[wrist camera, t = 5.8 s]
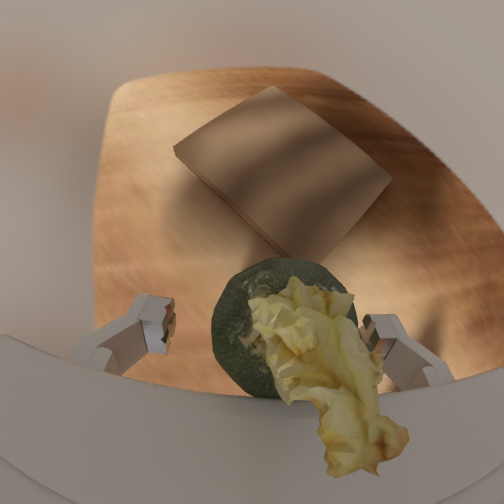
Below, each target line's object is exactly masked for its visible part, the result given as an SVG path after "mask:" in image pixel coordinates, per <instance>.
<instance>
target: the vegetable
mask: <svg viewBox="0 0 504 504" xmlns="http://www.w3.org/2000/svg"><path fill="white" fill-rule="evenodd" d="M354 296H355V295H353V294H350V293H348V292H347V290H346V288H345V287H344V286H343V285H342V284H341V283H340V282H339V281H338V280H337V279H336V278H335V277H334V276H333V275H332V274H331V273H330V272H329V271H328V270H327V269H326V268H325V267H323V266H321V265H320V264H318V263H314V262H311V261H306V260H300V259H293V258H269V259H266V260H264V261H262V262H260V263H258V264H255V265H253V266H251V267H249V268H247V269H245V270H244V271H242V272H240V273H238V274H236V275H234V276H233V277H232V278H231V279H230V280H229V282H228V283H227V285H226V287H225V289H224V291H223V293H222V295H221V297H220V298H219V300H218V302H217V304H216V306H215V308H214V312H213V316H212V323H211V334H212V346H213V353H214V355H215V358H216V360H217V361H218V363H219V364H220V365H221V367H222V368H223V369H224V370H225V371H226V373H227V374H228V375H229V376H230V377H231V378H232V379H233V380H234V381H235V382H236V383H237V384H238V385H239V386H240V387H241V388H242V389H243V390H244V391H245V392H247V393H248V394H250V395H252V396H254V397H263V398H280V399H282V400H283V401H285V402H286V403H287V404H288V406H289V405H290V404H291V403H292V402H293V401H294V400H304V401H312V402H313V404H314V405H315V406H316V408H317V409H318V410H319V412H320V414H319V422H320V426H319V428H318V430H317V433H318V435H319V436H320V438H321V439H322V441H323V443H324V444H325V447H326V451H325V454H324V460H325V461H326V462H327V463H328V468H327V471H326V472H327V473H328V474H329V475H330V476H333V477H334V478H338V477H342V476H345V475H348V474H351V473H353V472H355V471H358V470H360V469H363V470H365V471H367V472H369V473H371V474H372V475H376V476H379V475H378V473H377V471H376V469H377V466H378V463H380V462H385V461H389V460H391V459H393V458H395V457H397V456H399V455H400V454H401V453H402V451H403V450H404V448H405V446H406V445H407V443H408V442H409V440H410V439H409V435H408V430H407V428H406V427H403V426H400V425H398V424H396V423H395V422H394V421H393V420H391V419H390V418H389V417H388V416H384V415H380V414H379V400H378V391H377V385H378V384H379V383H380V382H381V381H382V378H383V373H384V371H381V369H382V366H383V362H384V361H383V360H382V358H381V357H382V356H384V355H385V354H384V353H381V354H377V353H376V352H375V351H374V350H373V351H372V352H369V351H368V349H367V348H366V346H365V345H364V343H363V342H362V340H361V339H360V338H359V334H360V333H358V332H359V330H358V320H357V315H356V311H355V307H354V303H353V300H354Z"/></svg>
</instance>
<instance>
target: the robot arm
mask: <svg viewBox="0 0 504 504" xmlns="http://www.w3.org/2000/svg"><path fill="white" fill-rule="evenodd" d="M174 307H175V302H174V299H173V298H169V297H163V296H157V295H150V294H145V293H139V294H138V295H137V296H136V298H135V300H134V301H133V303H132V305H131V307H130V309H129V310H128V312H127V314H126V316H125V317H120V318H118V319H116V320H114V321H113V322H111V323H109V324H107V325H105V326H103V327H102V328H100V329H98V330H96V331H94V332H93V333H91V334H89V335H87V336H85V337H84V338H82V339H80V340H79V341H78V343H77V344H76V346H75V348H74V350H73V351H72V353H71V354H70V356H69V358H68V360H67V359H64V358H61V357H59V356H56V355H53V354H51V353H48V352H46V351H43V350H41V349H38V348H36V347H34V346H31V345H29V344H26V343H24V342H22V341H20V340H18V339H16V338H14V337H12V336H10V335H7V334H1V335H0V504H504V367H499V368H496V369H493V370H490V371H487V372H484V373H480V374H477V375H474V376H470V377H466V378H463V379H459V380H455V379H454V377H453V375H452V373H451V371H450V369H449V367H448V365H447V363H446V362H444V361H443V360H442V359H440V358H439V357H438V356H436V355H435V354H433V353H432V352H431V351H429V350H428V349H427V348H425V347H424V346H423V345H421V344H420V343H418V342H417V341H416V340H414V339H413V338H409V336H408V334H407V333H406V331H405V329H404V327H403V325H402V323H401V322H400V320H399V318H398V316H397V315H396V314H366V315H365V316H364V318H363V320H362V322H363V326H361V327H360V328H359V329H358V330H359V332H358V333H360V334H359V338H360V339H361V340H362V342H363V343H364V345H365V346H366V348H367V349H368V351H369V352H372V351H373V350H374V351H375V352H376V353H377V354H381V353H384V354H385V355H384V356H382V357H381V358H382V360H383V361H384V362H383V366H382V370H383V371H384V372H385V373H386V375H387V376H388V377H389V378H390V379H391V380H392V381H393V382H394V383H395V384H396V385H397V386H398V387H399V388H400V389H401V390H402V391H398V392H391V393H383V394H378V400H379V414H380V415H384V416H388V417H389V418H390V419H391V420H393V421H394V422H395V423H396V424H398V425H400V426H403V427H406V428H407V430H408V435H409V439H410V440H409V442H408V443H407V445H406V446H405V448H404V450H403V451H402V453H401V454H400V455H399V456H397V457H395V458H393V459H391V460H389V461H385V462H380V463H378V466H377V469H376V471H377V473H378V475H379V476H376V475H372V474H371V473H369V472H367V471H365V470H363V469H360V470H358V471H355V472H353V473H351V474H348V475H345V476H342V477H338V478H334V477H333V476H330V475H329V474H328V473H327V472H326V471H327V468H328V463H327V462H326V461H325V460H324V454H325V451H326V447H325V444H324V443H323V441H322V439H321V438H320V436H319V435H318V433H317V430H318V428H319V426H320V422H319V414H320V412H319V410H318V409H317V408H316V406H315V405H314V404H313V402H312V401H304V400H294V401H293V402H292V403H291V404H290V405H289V406H288V404H287V403H286V402H285V401H283V400H282V399H280V398H263V397H247V396H235V395H225V394H216V393H207V392H200V391H193V390H186V389H180V388H174V387H169V386H164V385H158V384H154V383H149V382H144V381H140V380H135V379H131V378H127V377H123V376H121V375H122V374H123V373H124V372H126V371H127V370H128V369H129V368H130V367H131V366H133V365H134V364H135V363H136V362H137V361H139V360H140V359H141V358H142V357H143V356H145V355H146V354H147V352H151V353H157V354H164V355H167V353H168V350H169V347H170V344H171V341H170V337H172V336H173V335H174V332H175V327H176V314H175V313H174V312H173V310H174Z"/></svg>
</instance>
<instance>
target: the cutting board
mask: <svg viewBox="0 0 504 504" xmlns="http://www.w3.org/2000/svg"><path fill="white" fill-rule="evenodd" d="M173 149H174V152H175V155H176V157H177V158H179V159H180V160H181V161H182V162H183V163H184V164H185V165H186V166H187V167H188V168H189V169H190V170H192V171H193V172H194V173H195V174H196V175H197V176H198V177H199V178H200V179H201V180H202V181H203V182H204V183H206V184H207V185H208V186H209V187H210V188H211V189H212V190H213V191H214V192H215V193H216V194H217V195H218V196H219V197H221V198H222V199H223V200H224V201H225V202H226V203H227V204H228V205H229V206H230V207H231V208H232V209H233V210H234V211H235V212H236V213H238V214H239V215H240V216H241V217H242V218H243V219H244V220H245V221H246V222H247V223H248V224H249V225H250V226H251V227H252V228H253V229H254V230H255V231H256V232H257V233H259V234H260V235H261V236H262V237H263V238H264V239H265V240H266V241H267V242H268V243H269V244H270V245H271V246H272V247H273V248H274V249H275V250H276V251H277V252H278V253H279V254H280V255H281V256H282V257H283V258H293V259H300V260H306V261H311V262H314V263H318V264H320V263H321V262H322V261H323V260H324V259H325V257H326V256H327V255H328V254H329V253H330V252H331V251H332V250H333V249H334V247H335V246H336V245H337V244H338V243H339V242H340V241H341V240H342V238H343V237H344V236H345V235H346V234H347V233H348V232H349V230H350V229H351V228H352V227H353V226H354V225H355V223H356V222H357V221H358V220H359V219H360V218H361V216H362V215H363V214H364V213H365V212H366V211H367V209H368V208H369V207H370V206H371V205H372V203H373V202H374V201H375V200H376V199H377V197H378V196H379V195H380V194H381V192H382V191H383V190H384V189H385V188H386V186H387V185H388V184H389V183H390V181H391V180H392V179H393V178H392V177H391V176H390V175H389V174H388V173H387V172H386V171H385V170H384V169H383V168H382V167H381V166H379V165H378V164H377V163H376V162H375V161H374V160H373V159H372V158H371V157H369V156H368V155H367V154H366V153H365V152H364V151H362V150H361V149H360V148H359V147H358V146H357V145H355V144H354V143H353V142H352V141H351V140H349V139H348V138H347V137H346V136H344V135H343V134H342V133H341V132H339V131H338V130H337V129H335V128H334V127H333V126H331V125H330V124H329V123H328V122H326V121H325V120H323V119H322V118H321V117H319V116H318V115H317V114H315V113H314V112H312V111H311V110H310V109H308V108H307V107H305V106H304V105H302V104H301V103H299V102H298V101H297V100H295V99H294V98H292V97H290V96H289V95H287V94H286V93H284V92H283V91H281V90H280V89H278V88H276V87H275V86H273V85H272V86H271V87H269V88H267V89H265V90H263V91H261V92H259V93H257V94H256V95H254V96H252V97H250V98H248V99H247V100H245V101H243V102H241V103H240V104H238V105H236V106H234V107H233V108H231V109H229V110H228V111H226V112H224V113H223V114H221V115H220V116H218V117H216V118H215V119H213V120H212V121H210V122H208V123H207V124H205V125H204V126H202V127H201V128H199V129H198V130H196V131H195V132H193V133H192V134H190V135H189V136H187V137H186V138H185V139H183V140H182V141H180V142H179V143H178V144H176V145H175V146H173Z"/></svg>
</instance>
